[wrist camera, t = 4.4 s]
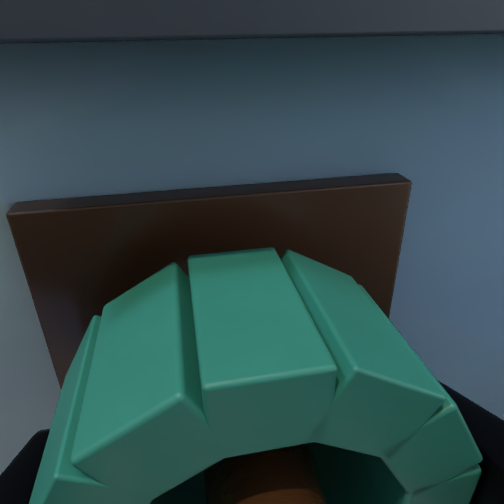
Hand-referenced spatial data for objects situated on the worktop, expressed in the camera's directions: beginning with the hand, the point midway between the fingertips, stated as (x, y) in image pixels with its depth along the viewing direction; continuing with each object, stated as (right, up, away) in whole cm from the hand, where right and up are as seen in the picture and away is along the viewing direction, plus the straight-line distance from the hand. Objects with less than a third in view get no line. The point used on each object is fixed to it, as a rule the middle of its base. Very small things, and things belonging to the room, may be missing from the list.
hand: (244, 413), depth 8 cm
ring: (0, 0, +1) cm, 1 cm away
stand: (0, +1, +2) cm, 2 cm away
